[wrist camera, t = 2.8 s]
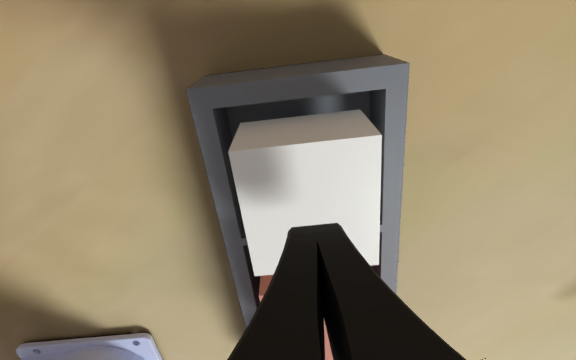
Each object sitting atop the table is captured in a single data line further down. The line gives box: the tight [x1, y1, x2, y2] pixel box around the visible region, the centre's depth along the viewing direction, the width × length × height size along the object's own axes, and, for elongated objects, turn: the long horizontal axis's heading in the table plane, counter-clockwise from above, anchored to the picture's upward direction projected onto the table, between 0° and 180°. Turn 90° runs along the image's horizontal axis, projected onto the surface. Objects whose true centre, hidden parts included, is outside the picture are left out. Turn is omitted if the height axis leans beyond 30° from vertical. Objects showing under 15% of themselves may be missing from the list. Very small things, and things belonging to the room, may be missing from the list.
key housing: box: [186, 54, 410, 328], centre depth 17 cm, size 8×20×3 cm, turn 6°
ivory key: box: [228, 109, 382, 276], centre depth 12 cm, size 5×5×3 cm
